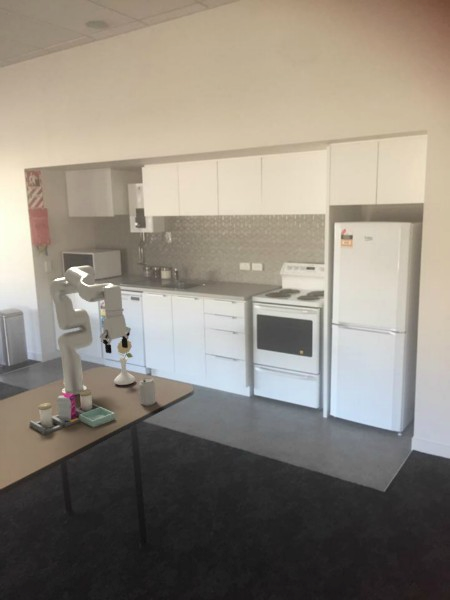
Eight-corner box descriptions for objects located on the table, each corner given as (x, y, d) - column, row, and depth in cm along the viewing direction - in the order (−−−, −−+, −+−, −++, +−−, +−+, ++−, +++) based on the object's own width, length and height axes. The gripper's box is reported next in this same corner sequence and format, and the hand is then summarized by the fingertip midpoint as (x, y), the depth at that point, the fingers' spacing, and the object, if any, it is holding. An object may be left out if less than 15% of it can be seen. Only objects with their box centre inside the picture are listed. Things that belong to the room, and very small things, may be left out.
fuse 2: (79, 412, 235) (77, 392, 233) (89, 409, 239) (87, 389, 237) (85, 415, 231) (83, 394, 230) (95, 411, 235) (93, 391, 233)
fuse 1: (38, 427, 221) (36, 405, 219) (49, 423, 224) (47, 402, 223) (44, 430, 217) (42, 408, 215) (55, 426, 221) (53, 404, 219)
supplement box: (70, 422, 225) (68, 398, 222) (58, 421, 226) (56, 397, 224) (76, 417, 230) (74, 393, 228) (65, 416, 231) (62, 392, 229)
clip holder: (29, 426, 222) (28, 421, 221) (89, 405, 243) (88, 400, 243) (43, 434, 213) (42, 429, 212) (104, 412, 234) (103, 407, 234)
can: (141, 400, 247) (139, 377, 245) (156, 399, 247) (155, 376, 245) (139, 406, 239) (138, 382, 237) (155, 405, 240) (154, 381, 238)
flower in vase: (109, 384, 272) (106, 339, 267) (125, 378, 281) (122, 334, 276) (126, 389, 264) (122, 342, 259) (142, 382, 273) (139, 337, 268)
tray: (79, 420, 226) (78, 414, 225) (100, 413, 234) (100, 406, 233) (93, 427, 218) (92, 421, 218) (115, 419, 226) (114, 413, 226)
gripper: (122, 308, 233) (125, 344, 236) (93, 316, 219) (96, 353, 222) (134, 310, 228) (136, 346, 231) (104, 317, 215) (107, 356, 218)
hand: (116, 350), depth 227 cm, fingers open, 9 cm apart
